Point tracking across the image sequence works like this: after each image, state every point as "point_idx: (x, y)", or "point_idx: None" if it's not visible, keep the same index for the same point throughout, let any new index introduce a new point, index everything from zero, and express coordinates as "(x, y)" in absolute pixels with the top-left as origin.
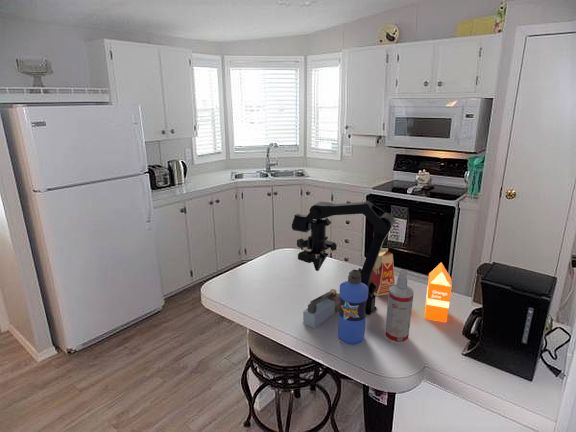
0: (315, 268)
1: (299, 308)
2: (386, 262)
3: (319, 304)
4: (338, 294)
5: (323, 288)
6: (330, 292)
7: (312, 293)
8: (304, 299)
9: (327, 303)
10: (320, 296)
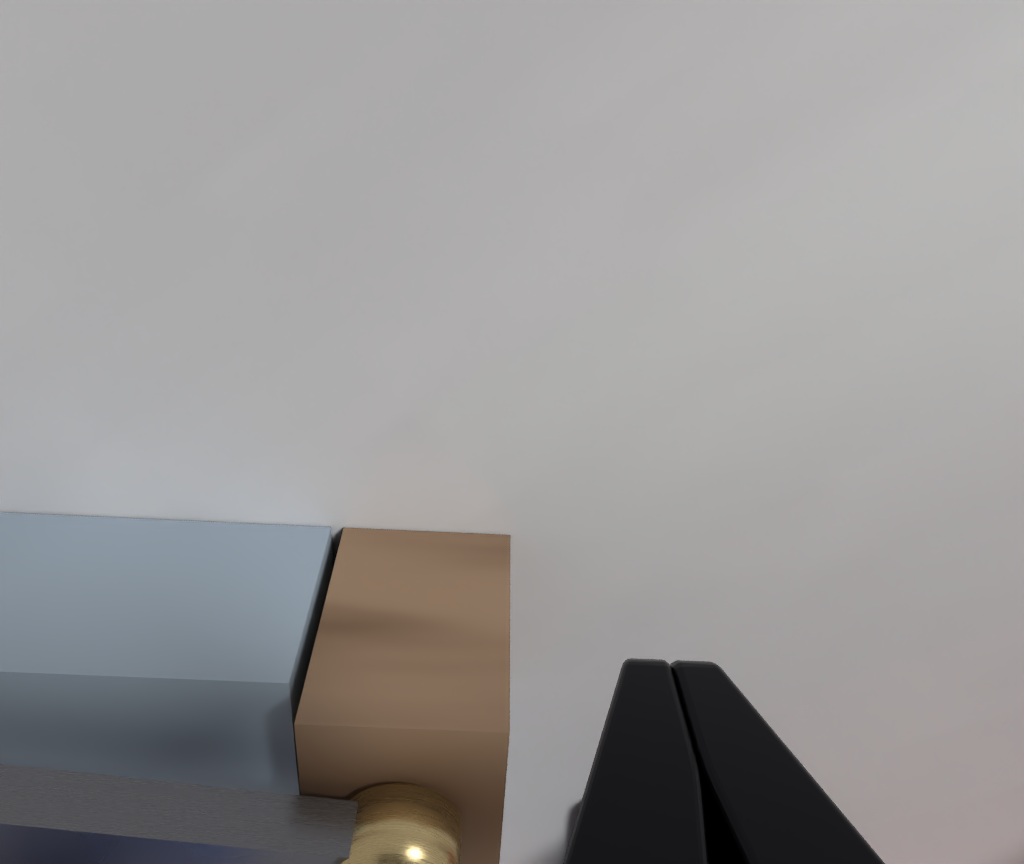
0: (597, 757)
1: (5, 216)
2: None
3: (18, 733)
4: (478, 860)
5: (1003, 157)
6: None
7: (669, 83)
8: (338, 91)
9: None
10: (19, 831)
